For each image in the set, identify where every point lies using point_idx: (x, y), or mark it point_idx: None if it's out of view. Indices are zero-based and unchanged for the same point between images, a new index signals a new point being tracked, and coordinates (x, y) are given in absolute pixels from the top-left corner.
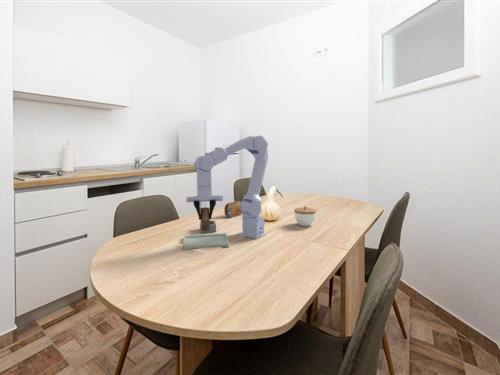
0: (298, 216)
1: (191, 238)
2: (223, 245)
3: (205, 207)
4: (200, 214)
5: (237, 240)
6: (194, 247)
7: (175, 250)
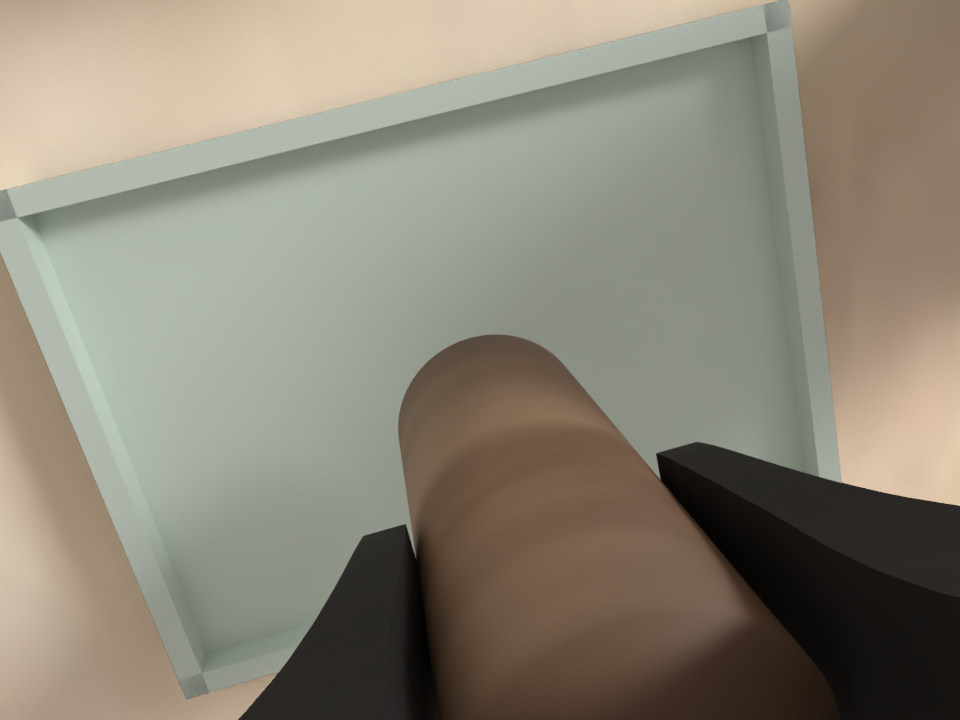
0: None
1: (163, 241)
2: None
3: (652, 620)
4: (413, 607)
5: (935, 191)
6: None
7: (97, 684)
